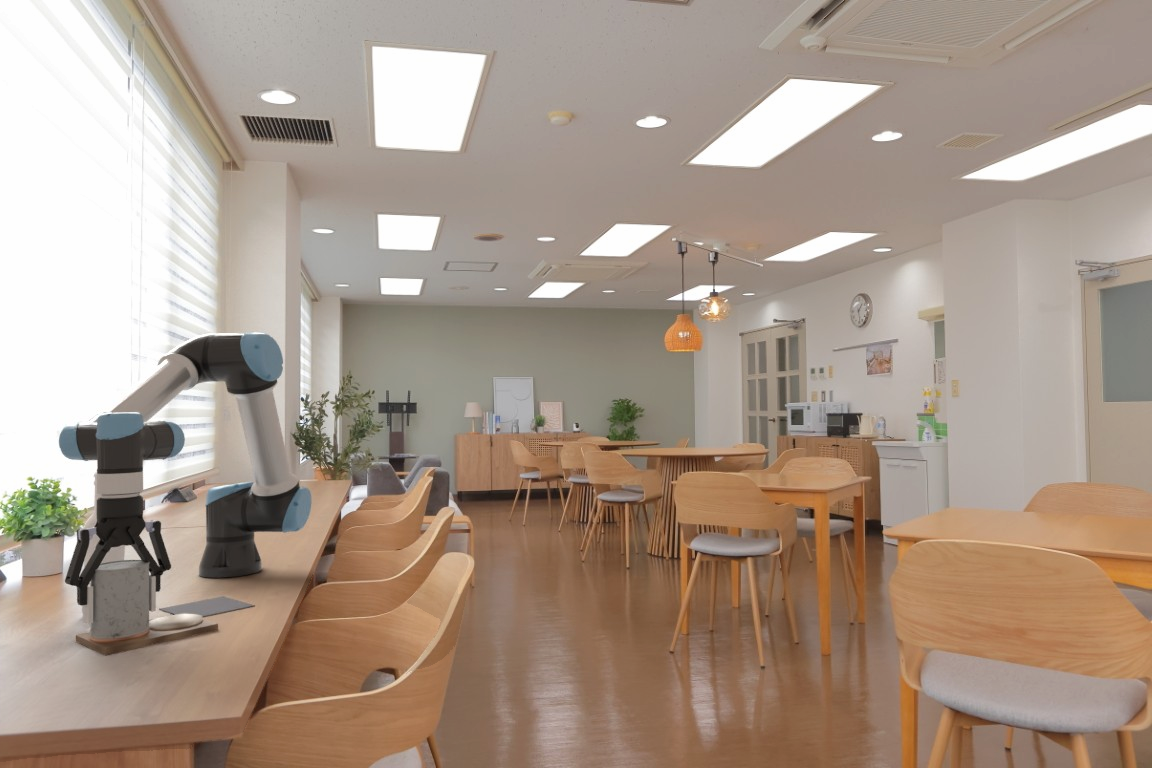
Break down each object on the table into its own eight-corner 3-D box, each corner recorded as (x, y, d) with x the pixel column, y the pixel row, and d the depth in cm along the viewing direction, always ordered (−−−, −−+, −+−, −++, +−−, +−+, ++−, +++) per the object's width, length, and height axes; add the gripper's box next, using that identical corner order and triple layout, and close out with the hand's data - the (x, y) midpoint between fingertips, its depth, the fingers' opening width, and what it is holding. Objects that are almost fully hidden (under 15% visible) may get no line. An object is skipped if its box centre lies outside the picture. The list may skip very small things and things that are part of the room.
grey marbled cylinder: (123, 640, 142) (123, 570, 143) (77, 638, 144) (77, 569, 145) (161, 625, 152) (161, 560, 152) (117, 623, 154) (117, 559, 154)
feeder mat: (223, 597, 182) (223, 596, 182) (254, 606, 173) (254, 605, 173) (159, 609, 172) (159, 608, 172) (189, 620, 163) (189, 619, 163)
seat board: (184, 618, 164) (185, 609, 164) (218, 629, 155) (218, 620, 155) (75, 641, 149) (75, 631, 149) (105, 655, 140) (105, 645, 140)
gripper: (173, 488, 160) (173, 601, 159) (43, 500, 142) (42, 626, 142) (191, 490, 155) (191, 606, 154) (58, 503, 138) (57, 633, 137)
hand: (120, 616), depth 148 cm, fingers open, 10 cm apart
